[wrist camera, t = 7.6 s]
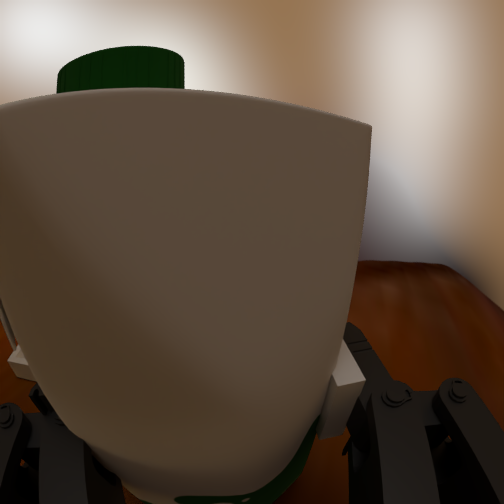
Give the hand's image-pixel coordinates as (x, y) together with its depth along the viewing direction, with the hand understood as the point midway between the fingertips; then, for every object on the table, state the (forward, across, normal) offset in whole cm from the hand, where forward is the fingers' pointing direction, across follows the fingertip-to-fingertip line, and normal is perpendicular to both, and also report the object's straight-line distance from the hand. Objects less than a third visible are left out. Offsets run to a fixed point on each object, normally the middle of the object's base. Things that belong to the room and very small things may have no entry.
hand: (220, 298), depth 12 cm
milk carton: (-4, -1, -11) cm, 12 cm away
